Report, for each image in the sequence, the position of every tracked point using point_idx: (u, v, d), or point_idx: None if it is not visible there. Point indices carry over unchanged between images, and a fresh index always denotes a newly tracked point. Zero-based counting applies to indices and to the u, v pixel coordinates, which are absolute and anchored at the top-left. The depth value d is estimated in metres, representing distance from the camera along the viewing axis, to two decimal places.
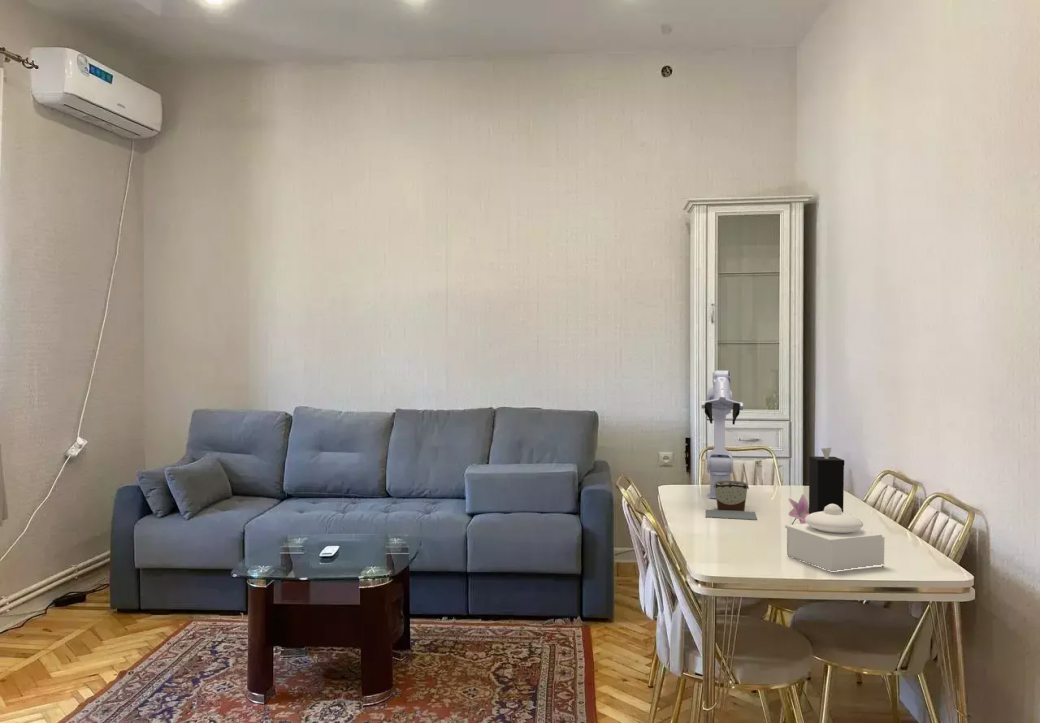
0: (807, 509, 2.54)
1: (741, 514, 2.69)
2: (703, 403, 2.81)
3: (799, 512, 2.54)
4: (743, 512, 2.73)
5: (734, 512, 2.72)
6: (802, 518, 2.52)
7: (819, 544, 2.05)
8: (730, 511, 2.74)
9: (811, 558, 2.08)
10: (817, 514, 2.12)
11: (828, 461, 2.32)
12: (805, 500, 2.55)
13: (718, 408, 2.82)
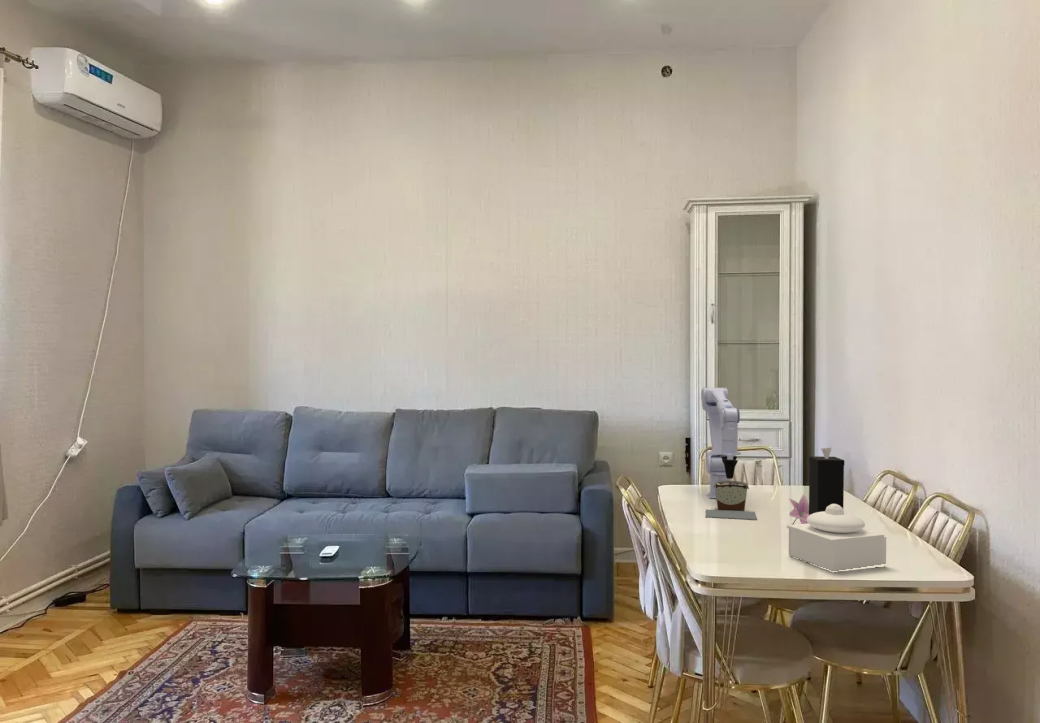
0: (808, 509, 2.54)
1: (741, 514, 2.69)
2: (732, 457, 2.80)
3: (800, 512, 2.54)
4: (743, 512, 2.73)
5: (734, 512, 2.72)
6: (803, 518, 2.52)
7: (821, 544, 2.05)
8: (730, 511, 2.74)
9: (813, 558, 2.08)
10: (819, 514, 2.12)
11: (828, 461, 2.32)
12: (806, 500, 2.55)
13: None
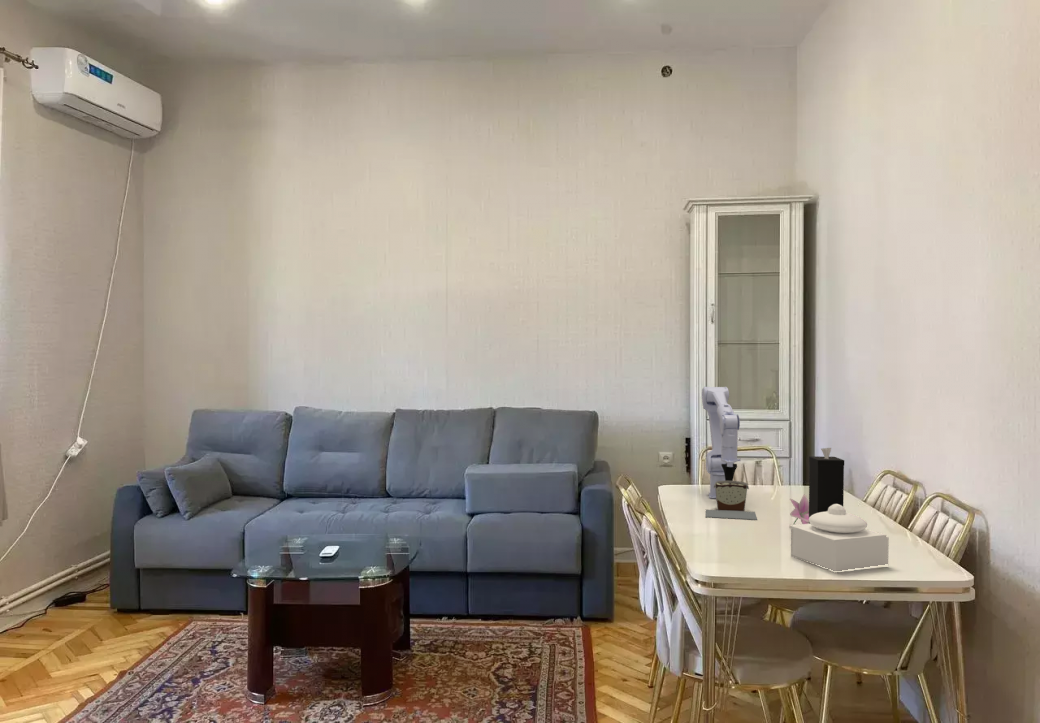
0: None
1: (741, 514, 2.69)
2: (732, 464, 2.80)
3: (800, 512, 2.53)
4: (743, 512, 2.73)
5: (734, 512, 2.72)
6: (803, 518, 2.52)
7: (823, 544, 2.05)
8: (730, 511, 2.74)
9: (815, 558, 2.08)
10: (821, 514, 2.12)
11: (828, 461, 2.32)
12: (806, 500, 2.55)
13: None
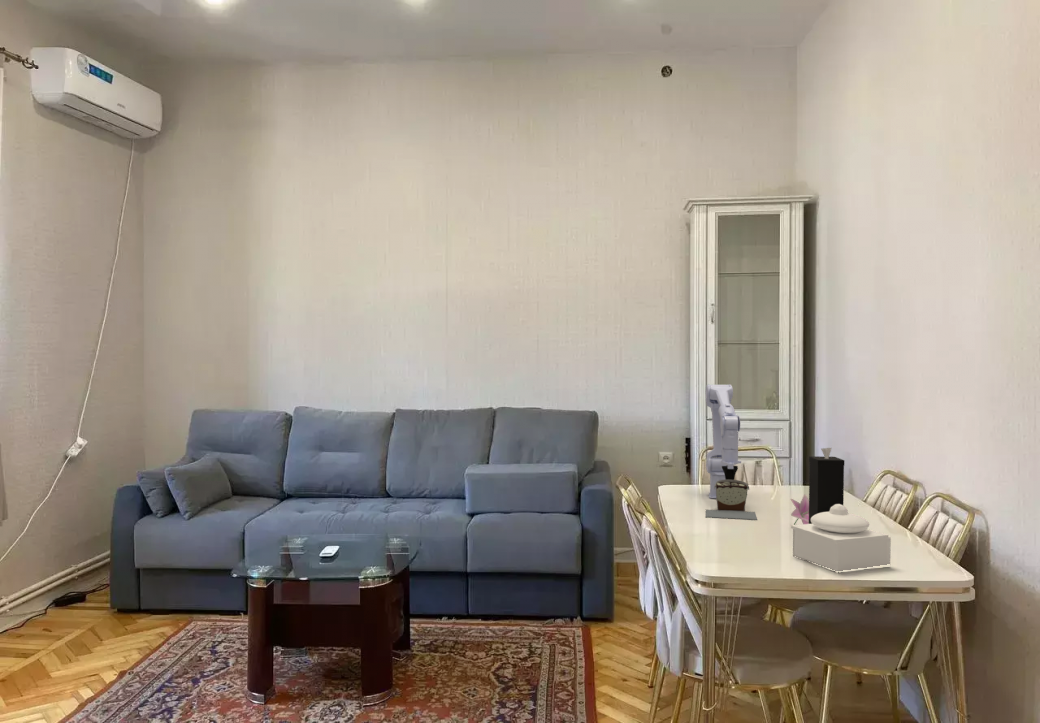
0: None
1: (741, 514, 2.69)
2: (733, 466, 2.75)
3: (801, 512, 2.53)
4: (743, 512, 2.73)
5: (734, 512, 2.72)
6: (804, 518, 2.52)
7: (825, 544, 2.05)
8: (730, 511, 2.74)
9: (817, 558, 2.07)
10: (823, 514, 2.12)
11: (828, 461, 2.32)
12: (807, 500, 2.55)
13: None
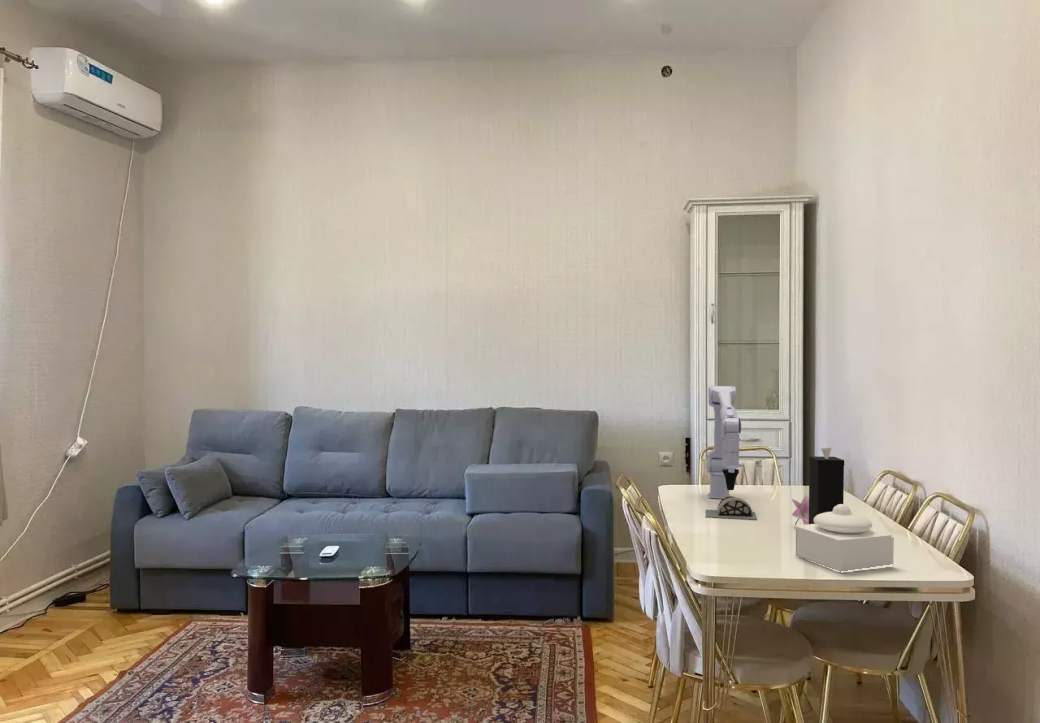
0: None
1: None
2: (734, 470, 2.67)
3: (802, 512, 2.53)
4: None
5: None
6: (805, 518, 2.51)
7: (828, 544, 2.04)
8: None
9: (820, 558, 2.07)
10: (826, 514, 2.12)
11: (828, 461, 2.32)
12: (808, 500, 2.55)
13: None
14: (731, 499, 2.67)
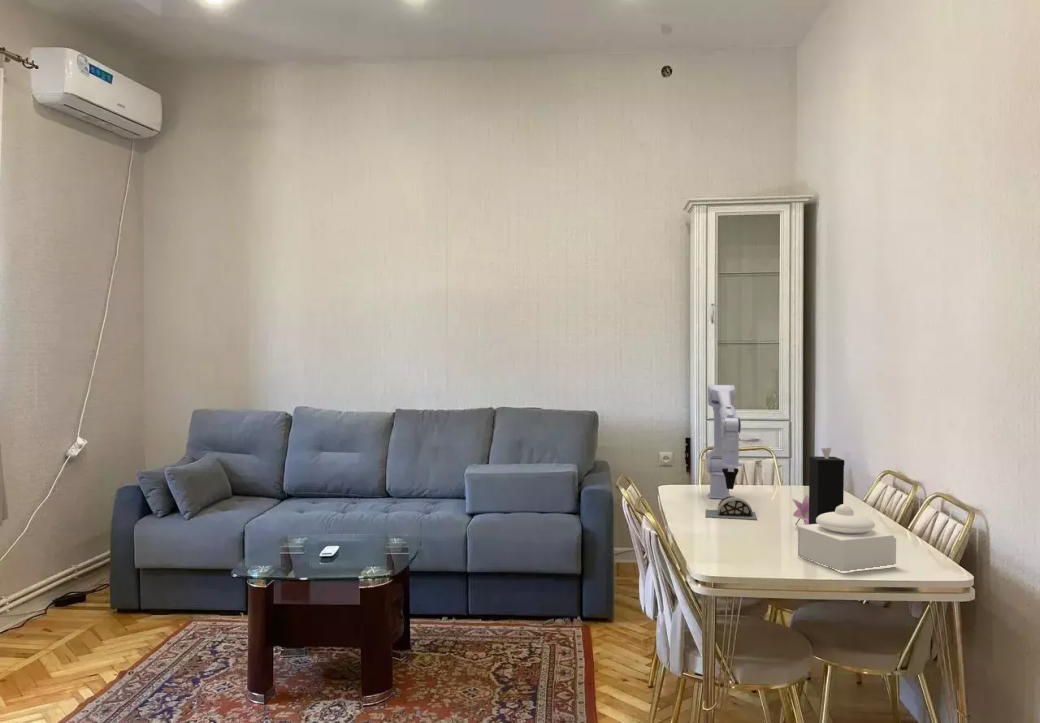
0: None
1: None
2: (733, 469, 2.70)
3: (803, 512, 2.53)
4: None
5: None
6: (806, 518, 2.51)
7: (830, 544, 2.04)
8: None
9: (822, 558, 2.07)
10: (828, 514, 2.12)
11: (828, 461, 2.32)
12: None
13: None
14: (731, 499, 2.67)
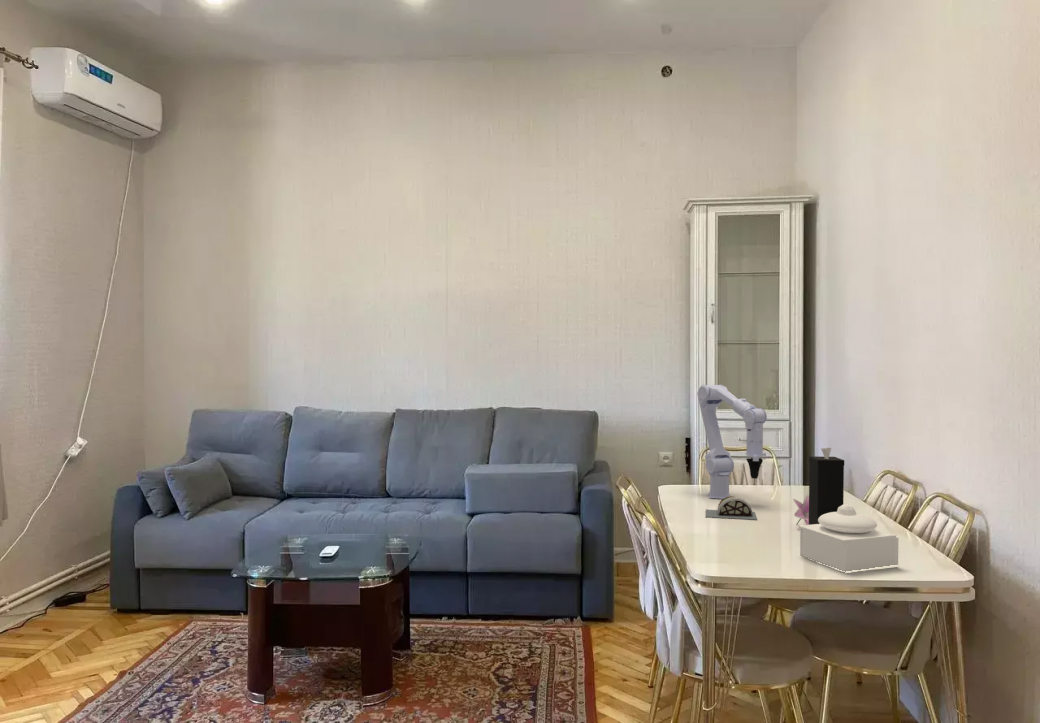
0: None
1: None
2: (758, 459, 2.77)
3: (804, 512, 2.53)
4: None
5: None
6: (807, 518, 2.51)
7: (833, 544, 2.04)
8: None
9: (825, 558, 2.07)
10: (830, 514, 2.12)
11: (828, 461, 2.32)
12: None
13: (749, 455, 2.83)
14: (731, 499, 2.67)
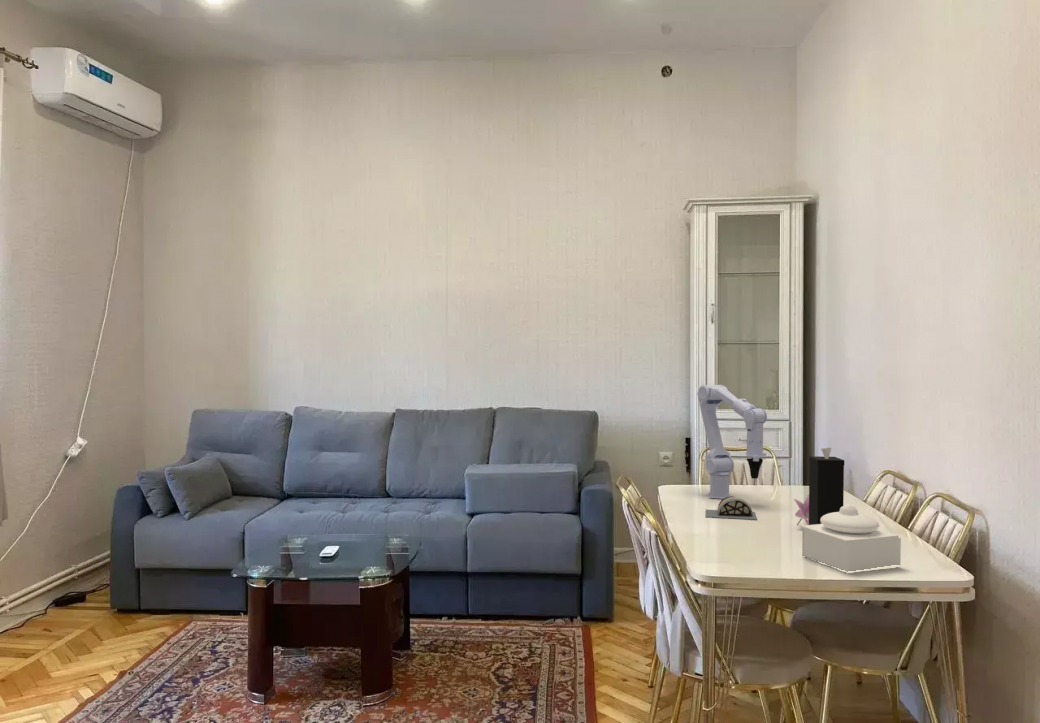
0: None
1: None
2: (758, 459, 2.78)
3: (804, 513, 2.53)
4: None
5: None
6: (808, 519, 2.51)
7: (835, 545, 2.04)
8: None
9: (827, 559, 2.07)
10: (833, 515, 2.11)
11: (828, 461, 2.32)
12: None
13: (749, 455, 2.83)
14: (731, 499, 2.67)
